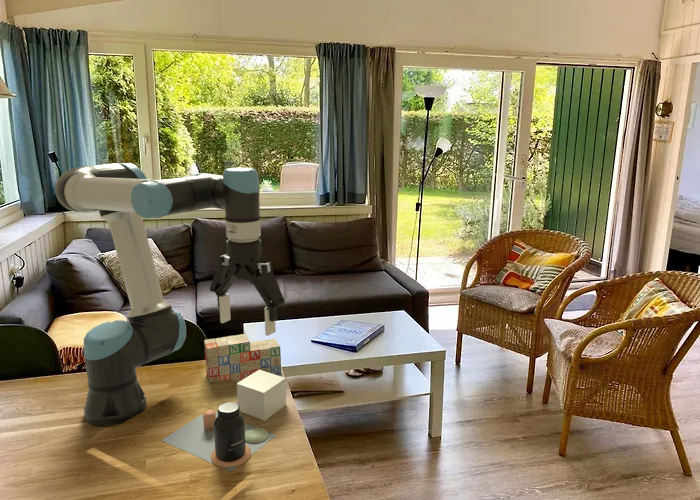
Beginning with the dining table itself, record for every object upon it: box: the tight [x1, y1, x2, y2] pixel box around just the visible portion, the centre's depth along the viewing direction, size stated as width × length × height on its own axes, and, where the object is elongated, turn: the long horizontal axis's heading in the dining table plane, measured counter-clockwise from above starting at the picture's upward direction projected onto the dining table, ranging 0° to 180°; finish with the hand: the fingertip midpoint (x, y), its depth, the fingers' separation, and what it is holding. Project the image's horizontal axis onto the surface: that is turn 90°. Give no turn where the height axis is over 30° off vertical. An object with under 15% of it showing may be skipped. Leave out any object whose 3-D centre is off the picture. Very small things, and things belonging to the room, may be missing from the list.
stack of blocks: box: [203, 333, 282, 384], centre depth 163 cm, size 21×6×12 cm, turn 112°
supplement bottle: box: [214, 401, 246, 462], centre depth 124 cm, size 7×7×12 cm
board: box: [160, 409, 277, 473], centre depth 131 cm, size 22×16×5 cm
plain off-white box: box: [236, 370, 287, 421], centre depth 144 cm, size 9×9×9 cm
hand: (247, 327), depth 127 cm, fingers open, 13 cm apart
